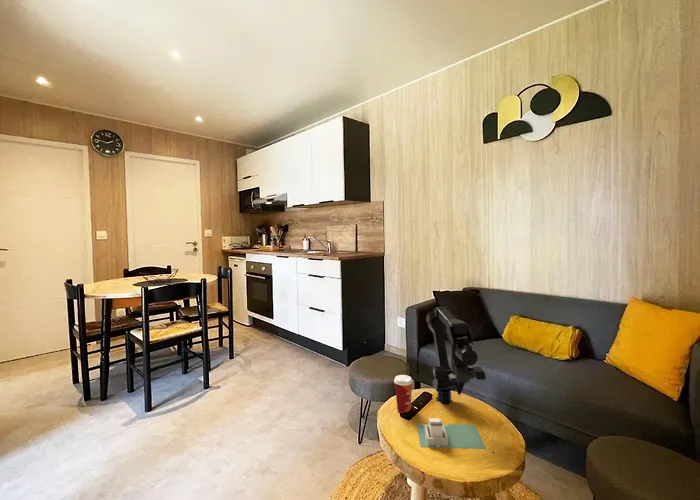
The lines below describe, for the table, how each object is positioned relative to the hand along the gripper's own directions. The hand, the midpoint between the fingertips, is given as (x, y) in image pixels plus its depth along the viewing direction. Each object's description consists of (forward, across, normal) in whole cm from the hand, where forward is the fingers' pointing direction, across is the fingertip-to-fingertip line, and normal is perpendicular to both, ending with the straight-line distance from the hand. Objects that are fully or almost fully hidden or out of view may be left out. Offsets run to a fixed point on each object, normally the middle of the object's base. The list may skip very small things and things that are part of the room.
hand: (459, 394), depth 128 cm
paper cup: (+12, -21, +9) cm, 26 cm away
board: (+12, -6, -9) cm, 16 cm away
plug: (+11, -11, -11) cm, 19 cm away
